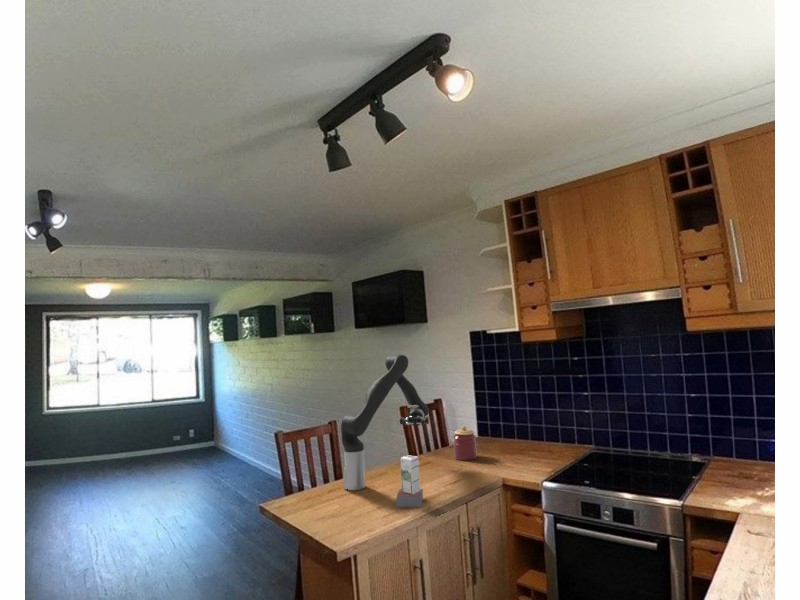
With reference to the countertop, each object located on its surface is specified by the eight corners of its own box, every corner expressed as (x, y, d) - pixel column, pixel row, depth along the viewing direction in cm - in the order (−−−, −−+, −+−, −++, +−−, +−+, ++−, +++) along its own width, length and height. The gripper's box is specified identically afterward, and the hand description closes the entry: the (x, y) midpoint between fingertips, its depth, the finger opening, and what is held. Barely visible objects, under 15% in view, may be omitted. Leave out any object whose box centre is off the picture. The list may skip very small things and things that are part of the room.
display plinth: (396, 507, 187) (396, 496, 187) (399, 498, 197) (399, 488, 197) (421, 507, 186) (420, 496, 186) (422, 498, 196) (422, 488, 196)
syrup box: (420, 491, 192) (419, 456, 194) (412, 495, 188) (410, 459, 189) (410, 488, 196) (408, 454, 197) (401, 492, 192) (399, 457, 193)
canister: (470, 462, 248) (468, 429, 249) (449, 459, 255) (448, 427, 257) (481, 456, 258) (479, 424, 259) (461, 453, 266) (459, 422, 267)
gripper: (402, 410, 236) (398, 415, 220) (429, 409, 234) (427, 415, 218) (402, 424, 235) (398, 431, 219) (430, 424, 233) (428, 431, 217)
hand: (413, 423), depth 218 cm, fingers open, 8 cm apart
